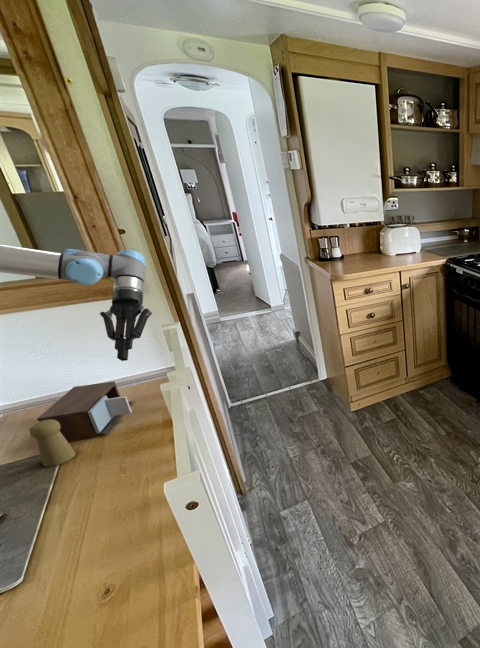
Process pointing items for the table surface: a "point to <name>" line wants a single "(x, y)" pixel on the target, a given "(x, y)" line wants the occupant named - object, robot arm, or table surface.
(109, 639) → the table surface
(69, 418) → the cabinet
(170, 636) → the table surface
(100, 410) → the sliding door
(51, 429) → the cork
